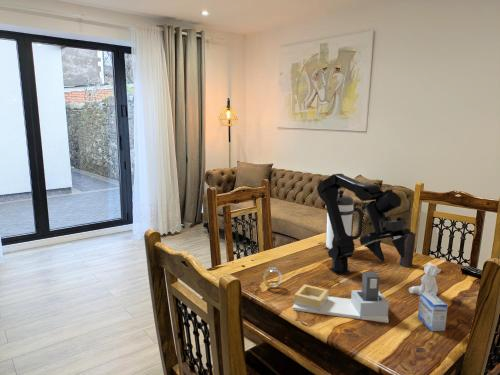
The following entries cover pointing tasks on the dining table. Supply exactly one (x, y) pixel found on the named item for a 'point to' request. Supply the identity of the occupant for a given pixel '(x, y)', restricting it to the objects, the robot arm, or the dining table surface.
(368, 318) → the panel board
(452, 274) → the dining table surface
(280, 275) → the ring
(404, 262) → the butter churn
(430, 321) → the medicine box
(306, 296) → the low dock
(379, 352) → the dining table surface
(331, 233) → the coffee press
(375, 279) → the plug
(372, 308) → the raised dock
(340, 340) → the dining table surface
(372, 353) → the dining table surface
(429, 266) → the white creature statuette
